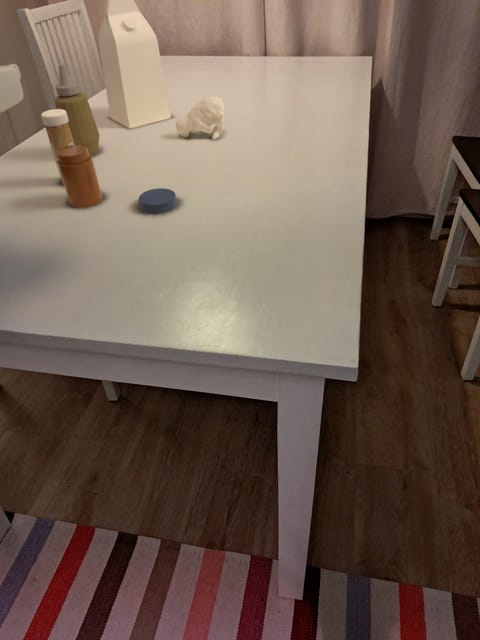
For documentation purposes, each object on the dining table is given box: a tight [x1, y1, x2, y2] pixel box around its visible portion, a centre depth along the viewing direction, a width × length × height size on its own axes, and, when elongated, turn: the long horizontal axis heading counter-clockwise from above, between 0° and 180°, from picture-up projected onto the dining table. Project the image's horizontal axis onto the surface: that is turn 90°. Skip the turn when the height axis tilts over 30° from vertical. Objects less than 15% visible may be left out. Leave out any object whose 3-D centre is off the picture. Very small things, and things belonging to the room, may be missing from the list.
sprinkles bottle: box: [40, 108, 75, 185], centre depth 90 cm, size 5×5×13 cm
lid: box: [138, 187, 178, 215], centre depth 84 cm, size 7×6×2 cm
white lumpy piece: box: [175, 95, 226, 140], centre depth 108 cm, size 6×8×12 cm
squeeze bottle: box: [54, 64, 100, 157], centre depth 99 cm, size 8×8×18 cm
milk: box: [97, 0, 172, 129], centre depth 114 cm, size 12×12×26 cm
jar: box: [56, 145, 103, 209], centre depth 84 cm, size 6×6×10 cm
